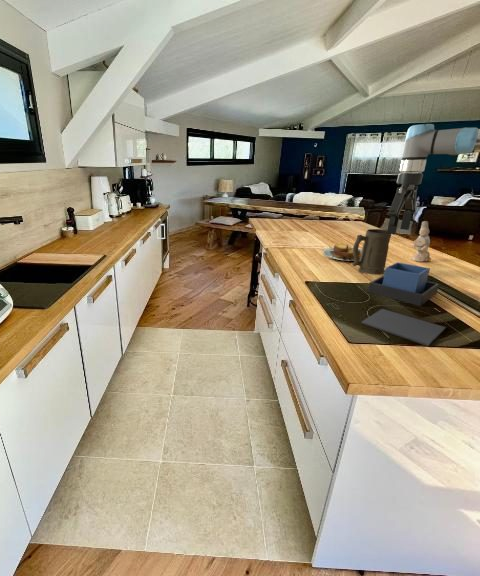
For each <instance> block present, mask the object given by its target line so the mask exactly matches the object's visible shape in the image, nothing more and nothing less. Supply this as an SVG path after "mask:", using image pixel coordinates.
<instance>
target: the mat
mask: <svg viewBox="0 0 480 576" xmlns="http://www.w3.org/2000/svg"><path fill="white" fill-rule="evenodd" d="M360 324H361V325H363V326H367V327H370V328H373V329H375V330H380V331H382V332H385V333H387V334H390V335H393V336H396V337H399V338H402V339H405V340H407V341H411V342H413V343H417V344H419V345H423V346H426V347H429V346H430V345H431V344H432V343H433V342H434V341H435V340H436V339H437V338H438V337H439V336H440V335H441V334H442V333H443V332H444V331H445V330H446V329H447V328H448V327H447V326H444V325H441V324H439V323H438V324H437V323H434V322H432V321H427V320H424V319H420V318H418V317H414V316H410V315H407V314H403V313H401V312H397V311H393V310H390V309H386V308H383V307H382V308H381V309H379V310H377V311H375V313H373V314H371V315H370V316H368V317H367V318H365V319H363V320H362V321H361V322H360Z"/></svg>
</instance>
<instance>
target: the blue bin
mask: <svg viewBox="0 0 480 576" xmlns="http://www.w3.org/2000/svg"><path fill="white" fill-rule="evenodd" d="M430 269H431V268H430V267H424V266H420V265H415V264H408V263H403V262H395V263H393V264H391V265H389V266H385V269H384V273H383V274H384V275H383V276H384V279H383V283H382V285H385V286H389V287H394V288H398V289H402V290H406V291H410V292H414V293H418V294H422V293H424V289H425V286H426V282H427V281H428V278H429V274H430V271H431V270H430Z"/></svg>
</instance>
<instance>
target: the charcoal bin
mask: <svg viewBox="0 0 480 576" xmlns="http://www.w3.org/2000/svg"><path fill="white" fill-rule="evenodd" d="M383 279H384V275H382V276H380V277H378V278H376V279H374V280H372V281H370V282H369V284H368V289H367V293H369V294H372V295H373V294H374V295H377V296H381V297H385V298H389V299H393V300H396V301H399V302H402V303H403V302H404V303H407V304H411V305H414V306H418V307H421V306H423V305H424V304H426V302H428V301H429V300H430V299H432V298H433V297H435V296H436V295H437V293H438V290H439V286H440V283H437V282H431V281H428V280H427V282H426V286H425V289H424V293H422V294H418V293H414V292H410V291H406V290H402V289H398V288H394V287H389V286H385V285H382V283H383Z"/></svg>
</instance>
